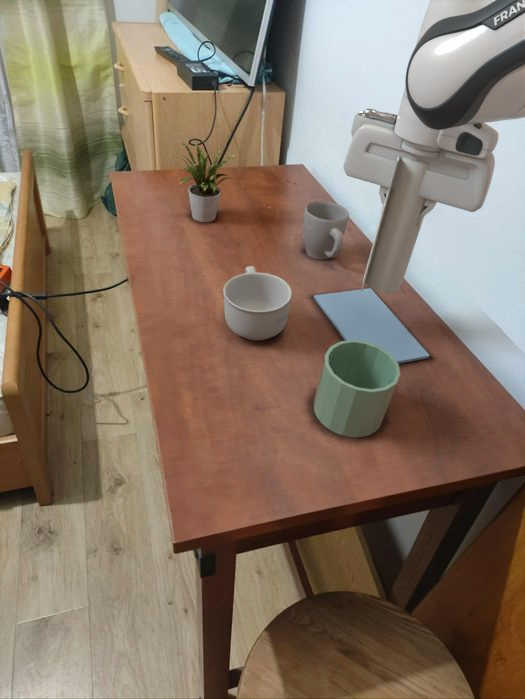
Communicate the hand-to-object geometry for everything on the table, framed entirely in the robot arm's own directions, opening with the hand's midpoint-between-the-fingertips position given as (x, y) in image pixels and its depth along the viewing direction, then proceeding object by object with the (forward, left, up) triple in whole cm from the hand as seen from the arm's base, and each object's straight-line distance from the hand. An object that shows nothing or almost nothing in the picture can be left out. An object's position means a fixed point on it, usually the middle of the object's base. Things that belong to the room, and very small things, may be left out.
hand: (400, 220), depth 76 cm
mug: (+16, -17, -20) cm, 31 cm away
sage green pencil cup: (-4, +21, -20) cm, 29 cm away
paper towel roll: (+1, 0, -12) cm, 12 cm away
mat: (0, 0, -20) cm, 20 cm away
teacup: (+17, +11, -20) cm, 29 cm away
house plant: (+46, -16, -20) cm, 53 cm away
